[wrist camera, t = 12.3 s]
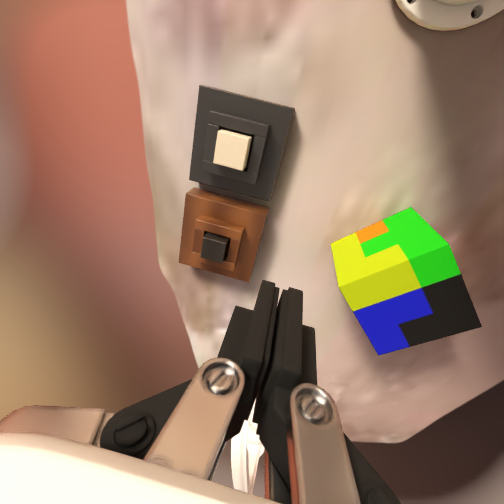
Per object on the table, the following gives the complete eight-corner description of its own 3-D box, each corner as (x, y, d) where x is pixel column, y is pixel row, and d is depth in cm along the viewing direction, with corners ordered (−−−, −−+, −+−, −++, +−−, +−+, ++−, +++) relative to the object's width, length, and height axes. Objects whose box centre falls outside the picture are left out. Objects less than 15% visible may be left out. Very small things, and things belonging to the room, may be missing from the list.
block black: (295, 108, 30) (293, 108, 27) (271, 196, 35) (268, 206, 32) (206, 85, 31) (193, 83, 27) (195, 175, 36) (183, 183, 32)
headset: (238, 316, 45) (203, 429, 29) (283, 320, 44) (271, 440, 28) (244, 398, 54) (219, 517, 38) (281, 403, 53) (271, 528, 37)
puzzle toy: (362, 300, 40) (378, 355, 31) (330, 243, 37) (338, 287, 28) (439, 272, 36) (481, 326, 27) (411, 207, 33) (449, 244, 24)
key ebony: (229, 238, 34) (226, 243, 33) (225, 257, 35) (222, 263, 34) (207, 232, 34) (202, 237, 33) (204, 251, 36) (199, 257, 34)
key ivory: (252, 136, 29) (249, 138, 27) (245, 167, 30) (242, 171, 29) (222, 129, 29) (217, 130, 28) (217, 160, 31) (212, 163, 29)
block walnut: (269, 207, 36) (264, 220, 32) (252, 271, 41) (246, 289, 37) (193, 187, 36) (180, 197, 32) (186, 253, 41) (173, 269, 37)
